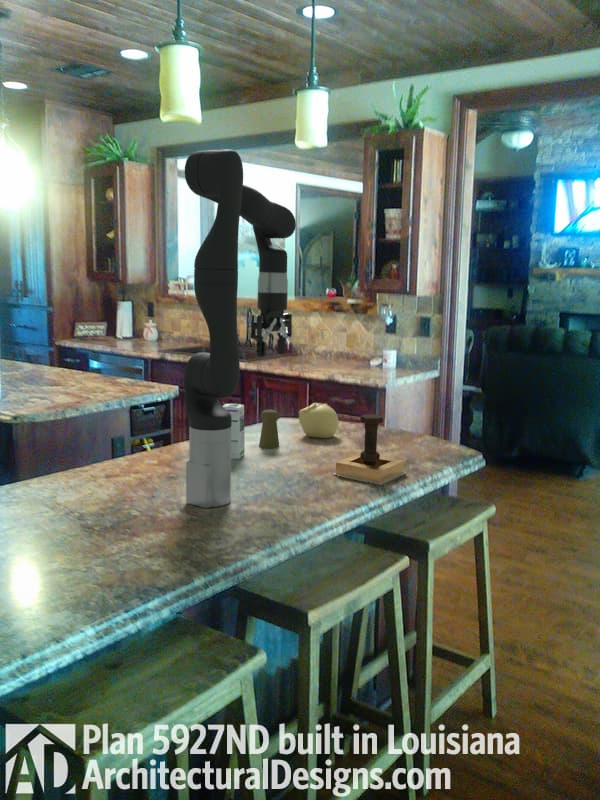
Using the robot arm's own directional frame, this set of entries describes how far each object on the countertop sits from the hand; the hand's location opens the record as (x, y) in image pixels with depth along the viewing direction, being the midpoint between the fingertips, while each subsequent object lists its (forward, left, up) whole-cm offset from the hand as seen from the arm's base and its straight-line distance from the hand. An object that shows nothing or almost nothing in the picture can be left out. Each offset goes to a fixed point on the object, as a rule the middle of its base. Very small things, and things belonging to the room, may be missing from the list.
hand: (271, 355), depth 184 cm
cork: (+20, +15, -30) cm, 39 cm away
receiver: (+13, -23, -30) cm, 40 cm away
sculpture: (+41, +11, -30) cm, 52 cm away
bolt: (+13, -23, -30) cm, 40 cm away
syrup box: (+4, +16, -30) cm, 34 cm away
